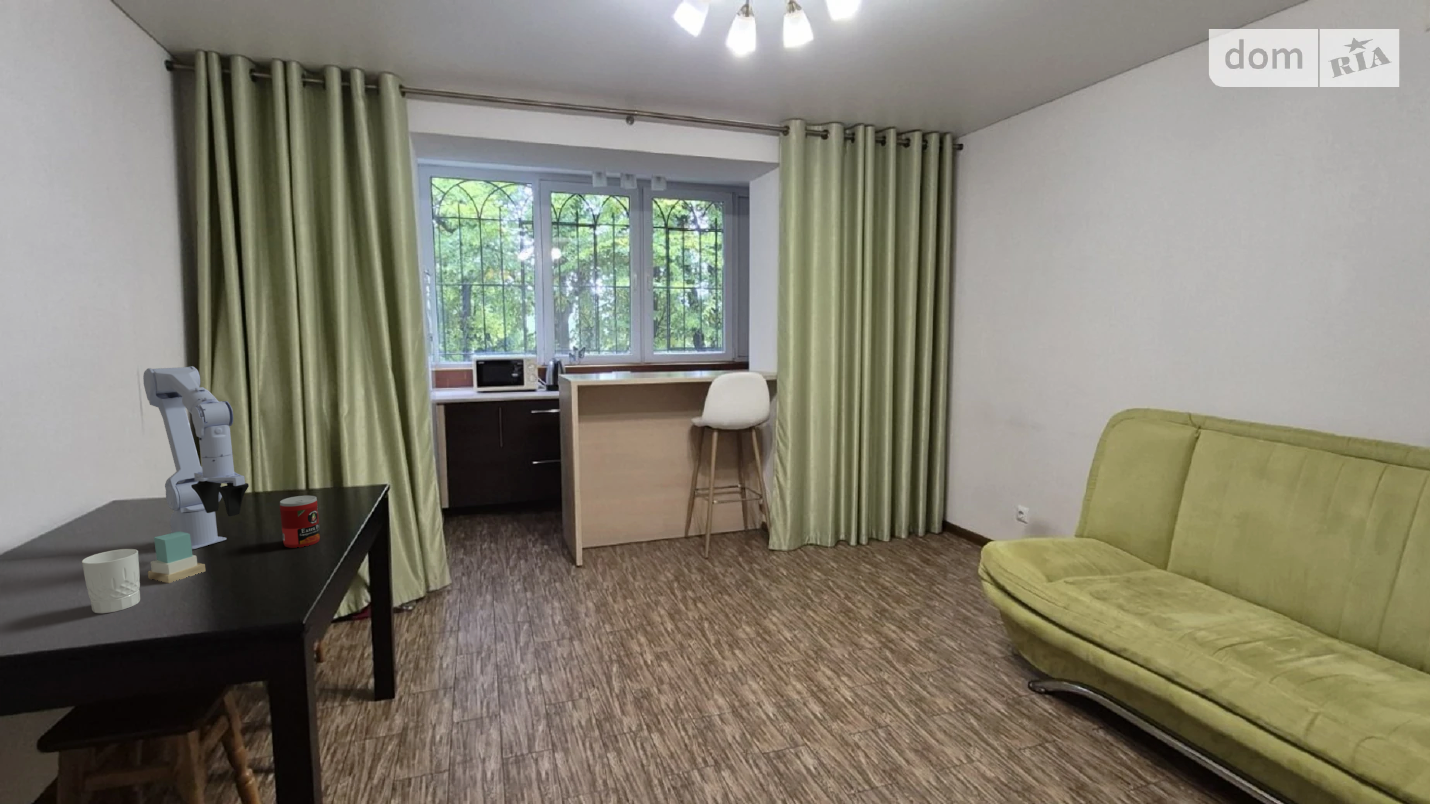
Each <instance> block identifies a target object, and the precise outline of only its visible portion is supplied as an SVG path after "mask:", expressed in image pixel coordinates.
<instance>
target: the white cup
mask: <svg viewBox="0 0 1430 804" xmlns="http://www.w3.org/2000/svg"><path fill="white" fill-rule="evenodd" d="M139 559H140V558H139V550H137V549H134V548H121V549H114V550H108V551H103V552H99V553H95V554H92V555H90V556H87V557H85V558H83V559H82V560H81V565H82V569H83V575H84V580H85V581H84V582H85V586H86V589H87V594H88V597H89V600H90V606H91V611H92V612H93V613H95V614H107V613H114V612H120V611H123V610H126V609H129V608H131V607H134V606H136V605H138V604H139V602H140V601H141V591H140V586H141V583H140V582H141V581H140V573H141V572H140V563H139V561H140V560H139Z"/></svg>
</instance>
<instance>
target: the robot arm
mask: <svg viewBox="0 0 1430 804" xmlns="http://www.w3.org/2000/svg"><path fill="white" fill-rule="evenodd" d="M143 386H144V388H143V389H144V391H145V395H146V398H147V401H148V403H149V405H150V406H152V407H155V408H158V410H159V413H160V415H161V417H162V420H163V421H162V422H163V424H164V428H165V432H166V436H167V437H166V438H167V439H168V444H169V448H170V452H171V455H172V459H173V463H174V467H175V472H174V473H173V474H172V475H170V476H169V477H168V478H167V479H166V481H165V484H164V488H165V500H166V504H167V506H168V508H169V509H170V510H172V511H173V512H172V513H171V515H170V518H169V523H170V524H169V525H170V532H171V533H174V532H178V531H180V532H184V533H188V534H190V539H191V547H192V550H196V549H199V548H203V547H206V546H208V545H209V546H210V545H213V544H216V543H219V542H223V541H226V540H227V537H223V536H218V528H217V527H218V526H217V517H216V512H218V511H219V507H220V504H219V503H220V501H221V499H223V503H224V506H225V512H226V514H227V516H228V517H233V516H239V515H240V513H241V508H242V503H243V500H244V499H243V498H244V496H245V494H246V492H247V489H249V486H250V485H249V483H247V482H246V481H245V479H246V478H245V475H241V474H240V473H237V472H236V471H235V466H234V465H235V464H234V458H233V457H234V456H233V454H234V453H233V447H232V437H231V435H232V434H231V426H232V425H233V424H234V411H233V407H232V406H231V404H230V402H229V400H228V401H227V400H222V401H221V400H220V401H219V400H218V399H217V398H216V396H215V395H214V394H212V393H211V392H210V390H208V389H207V388H205V387H204V386H202V387H201V376H200V372H199V370H198V369H197V368H196V367H195V366H193V365H192V366H191V365H190V366H185V367H184V366H182V367H164V368H162V367H160V368H151V367H149V368H146V370H144V372H143ZM187 411H188V412H189V413H190V414H191V419H192V423H193V426H194V429H195V435H196V437H198V444H199V451H200V452H199V453H200V458H199V455H198V451H197V447H196V444H195V440H194V436H193V432H192V429H191V428H192V427H191V424H190V421H189V417H188V413H187ZM200 461H201V463H200ZM222 484H224V485H222ZM225 484H226V485H225Z"/></svg>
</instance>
